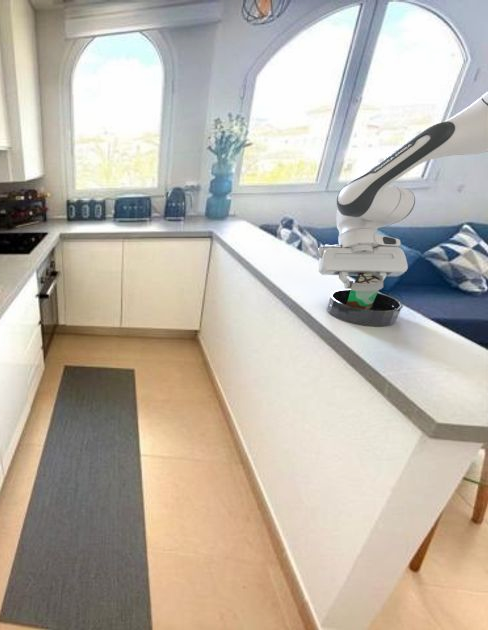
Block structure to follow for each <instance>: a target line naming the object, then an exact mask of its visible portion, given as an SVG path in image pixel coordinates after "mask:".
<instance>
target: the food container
mask: <svg viewBox="0 0 488 630" xmlns="http://www.w3.org/2000/svg"><path fill="white" fill-rule="evenodd" d="M383 288H384V281H383V278H382V277H381V276H380V275H378V274H376V273H372V272H359V273H358V276H356V278H355V279H354V281H353V284H352V287H351V291H350V294H349V298H348V301H347V305H348V306H351V307H356V308H360V309H366V310H370V309H371V307H372V304H373V302H374V300H375V297H376V295H377V293H379V291H380V290H382V289H383Z"/></svg>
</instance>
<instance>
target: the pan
mask: <svg viewBox="0 0 488 630" xmlns="http://www.w3.org/2000/svg"><path fill="white" fill-rule="evenodd" d="M350 291H351V289H345V288H344V289H338V290H334V291H332V292H331V293H330V294H329V298H328V301H327V305H326V312H327V313H328V314H329V315H331V316H332V317H334V318H336V319H338V320H340V321H343V322H345V323H350V324H354V325H358V326H363V327H364V326H365V327H373V328H374V327H375V328H380V327H381V328H383V327H390V326H393V325H395V324H396V323H397V321H398V320H399V318H400V315H401V313H402V310H403V307H404V305H403V303H402V302H401V301H400V300H399V299H397V298H395V297H393V296H390V295H387V294H384V293H380V292H378V293H377V295H376V297H375V300H374V302H373V304H372V307H371V309H370V310H366V309H360V308H356V307H351V306H348V305H347V301H348V298H349V294H350Z"/></svg>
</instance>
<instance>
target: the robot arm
mask: <svg viewBox="0 0 488 630" xmlns="http://www.w3.org/2000/svg"><path fill="white" fill-rule="evenodd" d="M484 153H488V91H486V93H484V94H483V95H481V97H480V98H478V99H477V100H476V101H474V102H473V103H472V104H470V106H467V107H466V108H464V109H463V110H461V111H460V112H458V113H457V114H455V115H454V116H452V117H450V118H448V119H446V120H444V121H441V122H439V123H435V124H434V125H431V126H429V127H428V128H426V129H425V130H423V131H422V132H421V131H420V133H418V134H417V135H415V136H414V137H413V138H411V139H410V140H408V141H407V142H406V143H404V144H403V145H402V146H400V147H399V148H398V149H396V150H395V151H393V152H392V153H390V155H388V156H387V157H385V158H384V159H383V160H381V161H380V162H379V163H377V164H376V165H374V166H373V167H372V168H371V169H369V170H368V171H366V172H365V173H363V174H361V175H359V176H357V177H356V178H354V179H352V180H351V181H349V182H348V183H346V184H345V185H344V186H343V187H342V188H341V189H340V191H339V192H338V194H337V196H336V207H337V208H336V213H335V220H336V221H335V222H336V229H337V230H338V238H337V240H338V244H324V245H322V246H320V247H318V249H317V256H318V258H319V260H318V273H320V274H321V275H322V276H338V279H339V280H340V282H342V284H343V285H344V289H351V287H352V284H353V283H354V280H350V278H349V277H347V276H354V277H355V276H356V277H357V276H358V273H359V272H372V273H376V274H378V275H380V276H381V277H382V278H383V282H384V281H385V279H386V278H387V277H399V276H402V275H404V273H405V272H407V270H408V268H409V266H408V265H409V264H408V260H407V257H406V254H405V252H404V250H403V249H402V248H400V246H401V240H400V239H399V238H396V237H393V236H388V235H385V234H384V235H383V234H381V233H378V229H381V228H385V227H388V226H391V225H394V224H396V223H399V222H401V221H403V220H404V219H406V218H407V217H408V216H409V215H410V214H411V213H412V211H413V210H414V208H415V204H416V197H415V194H414V192H412V191H411V190H408V189H406V188H402V187H399V186H395V185H391V184H393V183H394V182H395V181H397V180H399V179H400V178H401V177H403V176H404V175H406V174H407V173H409V172H411V171H412V170H414V168H416V167H417V166H419V165H421V164H423V163H426V162H429V161H431V160H434V159H438V158H444V157H445V158H446V157H451V156H452V157H453V156H467V155H468V156H471V155H477V154H478V155H479V154H484Z"/></svg>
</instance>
